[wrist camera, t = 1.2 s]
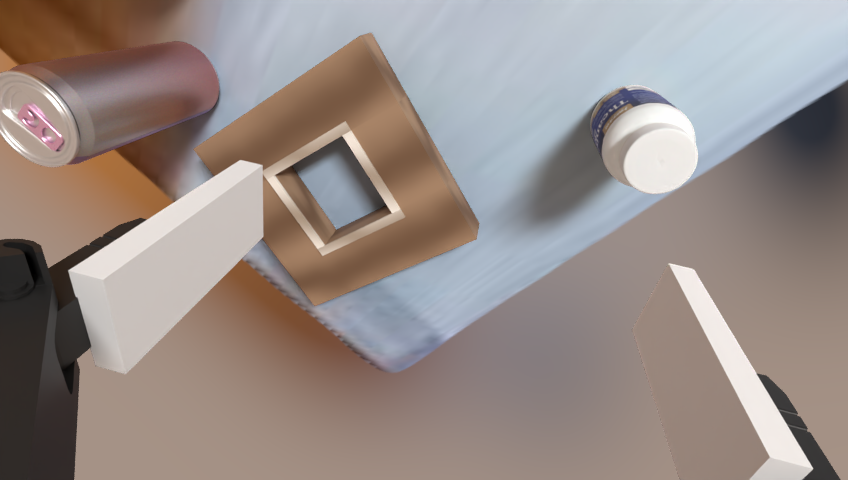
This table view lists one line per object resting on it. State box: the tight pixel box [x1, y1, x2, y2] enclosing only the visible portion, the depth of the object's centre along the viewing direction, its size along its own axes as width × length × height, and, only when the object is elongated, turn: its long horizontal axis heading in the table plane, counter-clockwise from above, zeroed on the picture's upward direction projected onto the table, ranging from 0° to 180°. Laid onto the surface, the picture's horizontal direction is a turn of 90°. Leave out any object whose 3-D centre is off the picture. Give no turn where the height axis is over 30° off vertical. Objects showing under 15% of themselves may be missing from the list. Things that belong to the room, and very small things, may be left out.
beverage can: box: [0, 41, 219, 167], centre depth 33 cm, size 6×6×15 cm
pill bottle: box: [590, 85, 698, 194], centre depth 30 cm, size 5×5×10 cm
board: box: [194, 33, 479, 306], centre depth 40 cm, size 18×18×3 cm
